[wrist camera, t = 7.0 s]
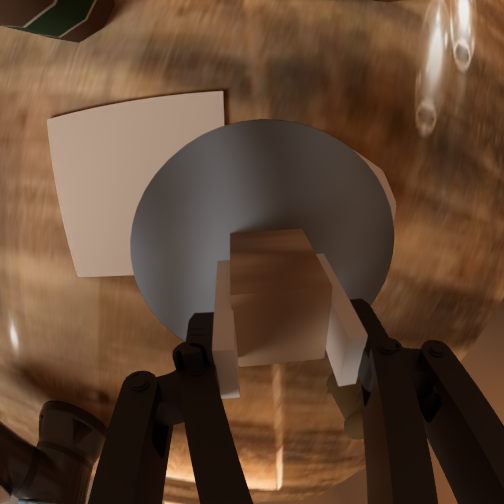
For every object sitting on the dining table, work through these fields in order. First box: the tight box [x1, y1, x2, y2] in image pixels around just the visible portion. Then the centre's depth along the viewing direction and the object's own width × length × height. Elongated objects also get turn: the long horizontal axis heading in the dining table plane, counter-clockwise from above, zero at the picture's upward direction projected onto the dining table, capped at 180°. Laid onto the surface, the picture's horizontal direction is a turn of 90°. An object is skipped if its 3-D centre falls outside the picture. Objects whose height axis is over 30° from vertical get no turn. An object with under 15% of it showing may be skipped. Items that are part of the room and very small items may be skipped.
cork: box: [327, 373, 364, 439], centre depth 41 cm, size 6×6×11 cm
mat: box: [47, 91, 224, 277], centre depth 31 cm, size 19×19×1 cm
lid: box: [130, 119, 394, 367], centre depth 16 cm, size 16×16×7 cm
